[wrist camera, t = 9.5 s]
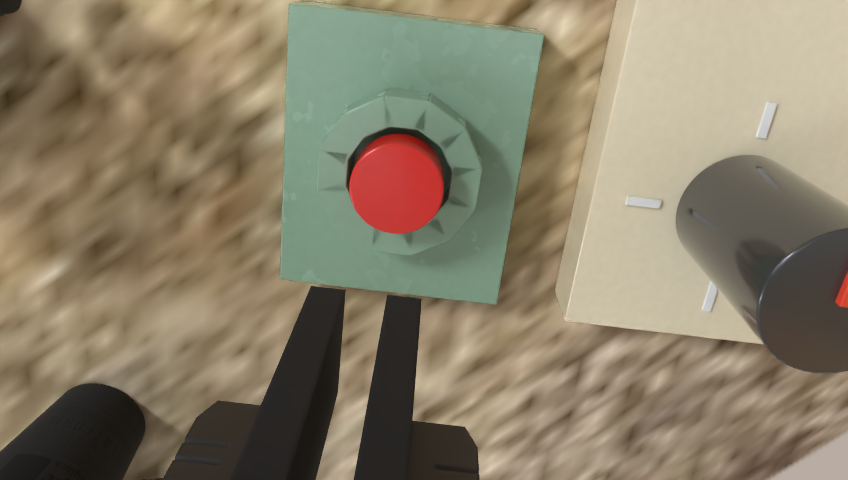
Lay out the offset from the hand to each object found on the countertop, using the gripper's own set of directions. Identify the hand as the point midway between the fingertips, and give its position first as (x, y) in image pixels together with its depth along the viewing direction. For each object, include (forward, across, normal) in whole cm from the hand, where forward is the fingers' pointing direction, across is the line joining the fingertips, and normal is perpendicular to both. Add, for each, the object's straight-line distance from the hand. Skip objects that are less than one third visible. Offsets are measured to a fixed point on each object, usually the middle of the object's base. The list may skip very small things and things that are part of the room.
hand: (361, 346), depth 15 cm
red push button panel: (+16, 0, 0) cm, 16 cm away
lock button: (+13, 0, 0) cm, 13 cm away
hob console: (+16, +14, +2) cm, 22 cm away
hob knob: (+13, +14, 0) cm, 19 cm away
